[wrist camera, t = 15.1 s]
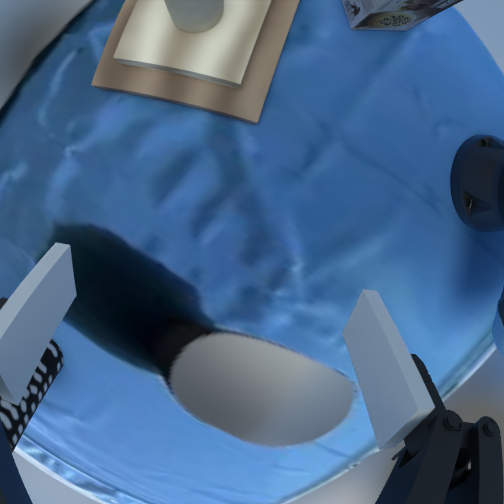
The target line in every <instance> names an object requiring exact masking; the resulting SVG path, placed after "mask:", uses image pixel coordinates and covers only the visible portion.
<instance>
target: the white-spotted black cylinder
mask: <svg viewBox="0 0 504 504" xmlns="http://www.w3.org/2000/svg"><path fill="white" fill-rule="evenodd" d="M63 361H64V360H63V355H62V352H61V350H60V348H59V347H58V345H57V344H56V343H55V342H54V341H53V340H52V339H51V340H50V342H49V344H48V346H47V348H46V350H45V352H44V354H43V355H42V357H41V359H40V361H39V363H38V365H37V367H36V369H35V371H34V373H33V375H32V377H31V379H30V382H29V384H28V386H27V388H26V390H25V392H24V394H23V397H22V399H21V401H20V403H19V405H15V404H13V403H10V402H8V401H6V400H3V399H2V397H1V396H0V418H1V422H2V425H3V428H4V432H5V435H6V438H7V441H8V444H9V447H10V450H11V453H12V452H13V451H14V449H15V447H16V445H17V443H18V441H19V439H20V438H21V436H22V434H23V432H24V430H25V428H26V427H27V425H28V423H29V421H30V420H31V418H32V416H33V414H34V413H35V411H36V409H37V407H38V406H39V404H40V402H41V401H42V399H43V397H44V396H45V394H46V392H47V391H48V389H49V387H50V386H51V384H52V382H53V381H54V379H55V378H56V376H57V374H58V373H59V371H60V370H61V368H62V367H63Z"/></svg>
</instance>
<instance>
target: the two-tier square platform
mask: <svg viewBox="0 0 504 504" xmlns="http://www.w3.org/2000/svg"><path fill="white" fill-rule="evenodd" d="M299 1H300V0H224V12H223V16H222V18H221V20H220V21H219V22H218V24H216V25H215V26H214V27H213V28H211V29H209V30H207V31H204V32H199V33H190V32H186V31H183V30H181V29H179V28H178V27H177V26H176V25H175V24H174V23H173V21H172V19H171V17H170V14H169V12H168V9H167V7H166V4H165V2H164V0H125V2H124V4H123V6H122V9H121V11H120V13H119V15H118V17H117V19H116V22H115V24H114V26H113V29H112V31H111V33H110V36H109V38H108V41H107V43H106V46H105V48H104V51H103V53H102V56H101V59H100V61H99V64H98V67H97V70H96V72H95V75H94V78H93V81H92V84H91V85H92V86H94V87H97V88H99V89H102V90H108V91H115V92H120V93H126V94H132V95H137V96H142V97H147V98H152V99H157V100H162V101H166V102H171V103H175V104H179V105H184V106H188V107H192V108H196V109H200V110H204V111H208V112H211V113H215V114H219V115H223V116H226V117H230V118H233V119H237V120H240V121H244V122H247V123H250V124H254V125H256V124H257V123H258V120H259V117H260V114H261V111H262V108H263V104H264V101H265V98H266V95H267V92H268V89H269V86H270V83H271V80H272V78H273V75H274V72H275V69H276V66H277V63H278V60H279V57H280V54H281V51H282V48H283V45H284V43H285V40H286V37H287V34H288V31H289V28H290V26H291V23H292V20H293V17H294V15H295V12H296V9H297V6H298V3H299Z"/></svg>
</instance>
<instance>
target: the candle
mask: <svg viewBox="0 0 504 504" xmlns="http://www.w3.org/2000/svg"><path fill="white" fill-rule="evenodd" d="M164 2H165V4H166V7H167V9H168V12H169V14H170V17H171V19H172V21H173V23H174V24H175V25H176V26H177V27H178V28H179V29H181V30H183V31H186V32H190V33H199V32H204V31H207V30H209V29H211V28H213V27H214V26H215V25H216V24H218V22H219V21H220V20H221V18H222V16H223V12H224V0H164Z"/></svg>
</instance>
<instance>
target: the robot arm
mask: <svg viewBox="0 0 504 504" xmlns="http://www.w3.org/2000/svg"><path fill="white" fill-rule="evenodd" d="M451 191H452V198H453V202H454V205H455V208H456V210H457V213H458V214H459V216H460V218H461V219H462V220H463V221H464V222H465V223H466V224H467V225H468V226H470V227H472V228H475V229H477V230H480V231H484V232H492V231H504V141H502V140H501V139H499V138H497V137H494V136H489V135H476V136H473V137H471V138H469V139H468V140H467V141H465V142H464V144H463V145H462V146H461V147H460V149H459V151H458V153H457V155H456V157H455V160H454V164H453V168H452V175H451ZM75 297H76V289H75V282H74V275H73V267H72V258H71V249H70V245H66V244H61V243H55V244H54V245H53V246H52V248H51V249H50V250H49V251H48V252H47V253H46V254H45V255H44V257H43V258H42V259H41V260H40V261H39V262H38V264H37V265H36V266H35V267H34V268H33V269H32V271H31V272H30V273H29V274H28V275H27V277H26V278H25V279H24V280H23V281H22V283H21V284H20V285H19V286H18V288H17V289H16V290H15V292H14V293H13V294H12V295H11V297H10V298H9V299H7V298H4V297H3V298H1V299H0V396H1V397H2V399H3V400H6V401H8V402H10V403H13V404H15V405H19V403H20V401H21V399H22V397H23V394H24V392H25V390H26V388H27V386H28V384H29V382H30V379H31V377H32V375H33V373H34V371H35V369H36V367H37V365H38V363H39V361H40V359H41V357H42V355H43V354H44V352H45V350H46V348H47V346H48V344H49V342H50V340H51V338H52V337H53V335H54V333H55V331H56V329H57V328H58V326H59V324H60V322H61V321H62V319H63V317H64V315H65V314H66V312H67V310H68V308H69V307H70V305H71V303H72V302H73V300H74V298H75ZM492 333H493V339H494V342H495V344H496V346H497V348H498V349H499V351H500V352H501V354H502V355H503V356H504V288H503V291H502V294H501V297H500V299H499V301H498V304H497V312H496V315H495V319H494V322H493V326H492ZM342 334H343V337H344V340H345V343H346V346H347V349H348V352H349V355H350V358H351V361H352V364H353V367H354V370H355V373H356V376H357V379H358V382H359V385H360V388H361V391H362V395H363V398H364V401H365V404H366V407H367V411H368V414H369V417H370V420H371V424H372V427H373V430H374V434H375V437H376V441H377V444H378V448H379V449H386V448H392V447H396V446H397V445H398V444H399V443H400V442H401V441H402V440H403V439H404V442H405V445H406V446H405V447H404V448H403V449H401V450H400V451H399V452H398V453H397V454H396V455H394V457H393V458H392V460H395V459H396V458H397V457H398V456H399V457H398V459H397V461H396V464H395V466H394V468H393V470H392V472H391V474H390V476H389V478H388V480H387V482H386V484H385V486H384V488H383V490H382V492H381V494H380V495H379V497H378V499H377V501H376V503H375V504H503V461H502V447H501V436H500V430H499V426H498V425H497V423H496V422H495V421H494V420H493V419H492V418H490V417H487V416H484V417H482V418H480V419H479V420H478V421H477V422H476V423H475V424H474V423H468V422H463V421H462V419H461V418H460V416H459V415H458V414H456V413H455V412H454V411H451V410H446V409H445V406H444V404H443V402H442V400H441V398H440V396H439V394H438V391H437V389H436V387H435V385H434V383H433V382H432V379H431V377H430V375H429V374H428V371H427V369H426V367H425V365H424V363H423V362H422V361H421V360H420V359H419V357H418V356H417V355H416V354H410V353H409V351H408V349H407V347H406V345H405V343H404V341H403V339H402V337H401V335H400V333H399V331H398V329H397V327H396V325H395V323H394V322H393V320H392V318H391V316H390V314H389V312H388V310H387V308H386V307H385V305H384V303H383V301H382V299H381V298H380V296H379V294H378V292H377V291H374V290H366V289H363V290H362V292H361V294H360V296H359V298H358V301H357V303H356V305H355V307H354V309H353V311H352V313H351V315H350V318H349V320H348V322H347V324H346V326H345V328H344V330H343V332H342ZM470 462H471V469H469V470H468V464H469V463H470ZM0 504H33V503H32V501H31V499H30V497H29V495H28V493H27V491H26V488H25V486H24V484H23V481H22V479H21V477H20V475H19V471H18V469H17V466H16V464H15V461H14V458H13V456H12V453H11V450H10V447H9V444H8V441H7V438H6V435H5V432H4V428H3V425H2V422H1V418H0Z"/></svg>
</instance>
